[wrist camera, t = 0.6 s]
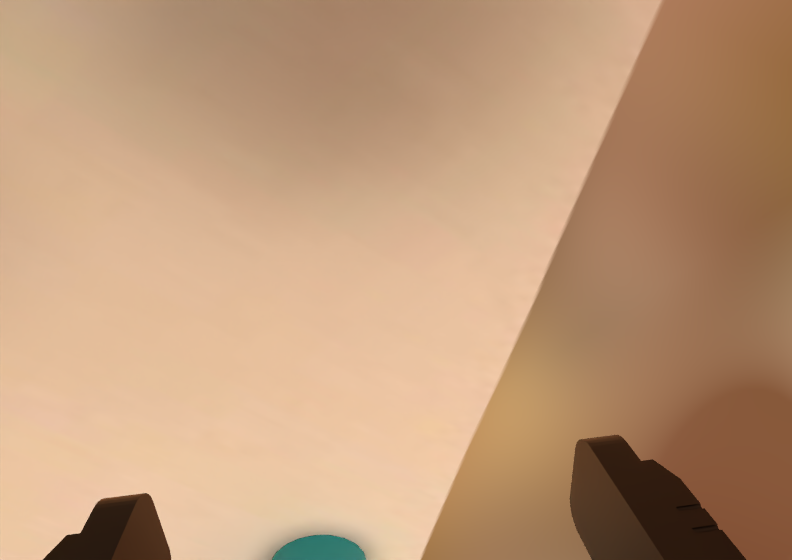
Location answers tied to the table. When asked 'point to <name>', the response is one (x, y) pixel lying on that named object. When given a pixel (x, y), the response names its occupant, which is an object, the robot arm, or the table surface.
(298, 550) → the mug
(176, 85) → the table surface
